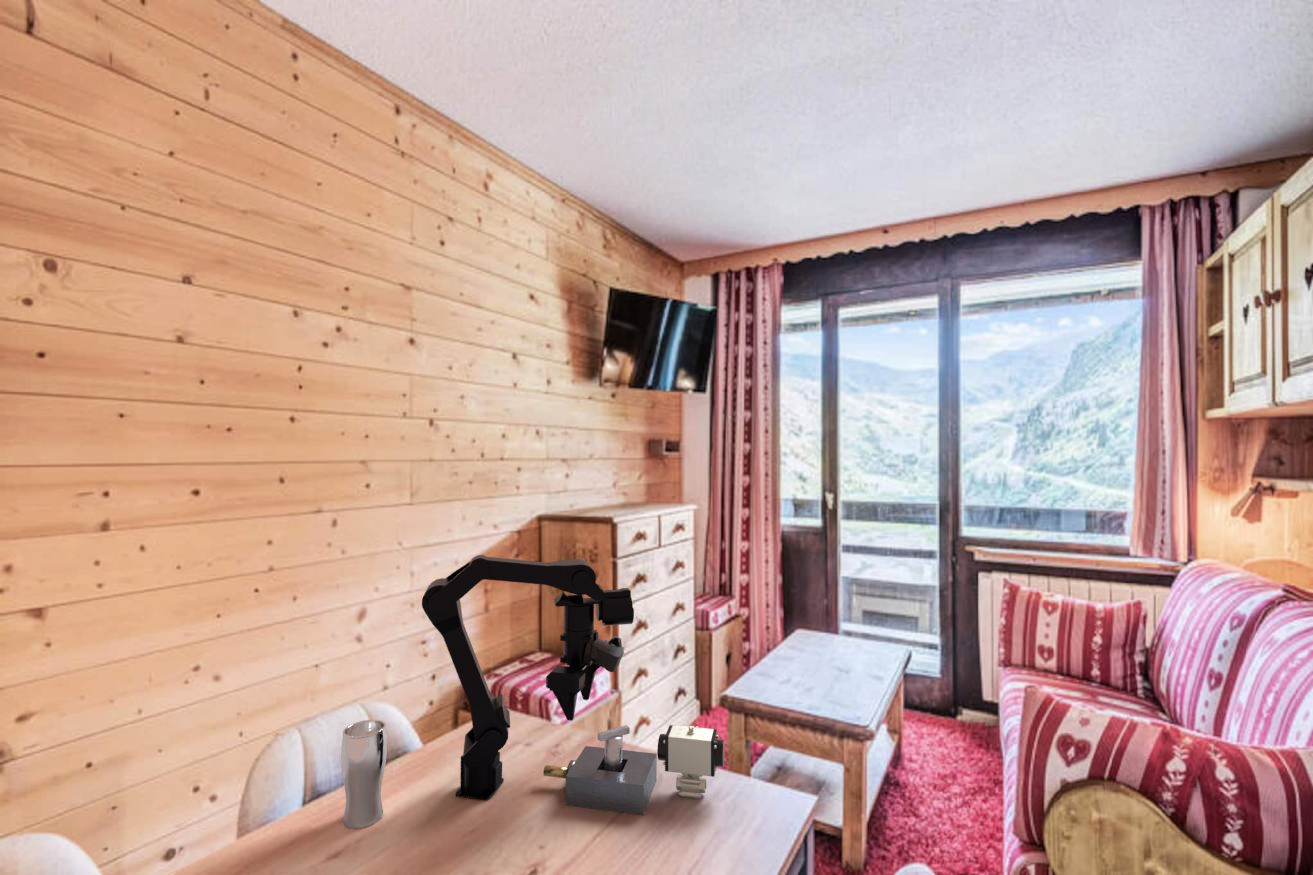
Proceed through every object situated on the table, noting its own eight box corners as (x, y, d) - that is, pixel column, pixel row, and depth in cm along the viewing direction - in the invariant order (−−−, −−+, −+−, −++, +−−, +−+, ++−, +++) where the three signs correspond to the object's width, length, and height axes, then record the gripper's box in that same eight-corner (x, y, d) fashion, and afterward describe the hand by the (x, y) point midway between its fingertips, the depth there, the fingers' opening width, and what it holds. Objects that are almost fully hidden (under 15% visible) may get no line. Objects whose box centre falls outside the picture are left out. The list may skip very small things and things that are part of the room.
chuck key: (602, 789, 106) (603, 737, 107) (594, 781, 109) (595, 730, 109) (631, 780, 110) (632, 729, 110) (622, 772, 112) (623, 722, 113)
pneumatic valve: (722, 804, 106) (722, 735, 106) (656, 797, 108) (657, 729, 108) (725, 787, 111) (725, 721, 111) (662, 780, 113) (663, 716, 114)
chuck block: (533, 800, 106) (533, 772, 107) (555, 768, 117) (556, 742, 117) (643, 815, 102) (643, 785, 103) (656, 780, 113) (656, 753, 113)
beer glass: (330, 825, 99) (331, 733, 100) (363, 802, 106) (365, 716, 106) (362, 834, 97) (364, 740, 97) (395, 810, 103) (396, 722, 104)
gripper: (605, 645, 105) (605, 736, 104) (631, 616, 123) (631, 693, 123) (545, 641, 107) (544, 730, 107) (579, 613, 125) (578, 689, 125)
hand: (578, 709), depth 115 cm, fingers open, 9 cm apart
